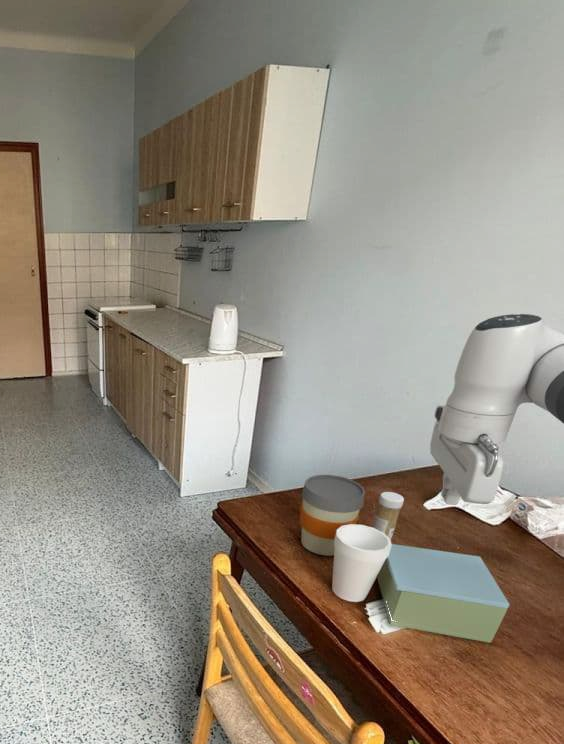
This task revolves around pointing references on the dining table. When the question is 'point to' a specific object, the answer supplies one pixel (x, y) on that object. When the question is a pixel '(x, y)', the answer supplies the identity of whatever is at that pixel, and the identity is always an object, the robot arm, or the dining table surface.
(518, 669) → the dining table surface
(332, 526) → the reusable coffee cup
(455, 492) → the robot arm
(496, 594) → the hatch
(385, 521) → the sprinkles bottle
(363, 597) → the foam cup
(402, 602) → the display box
